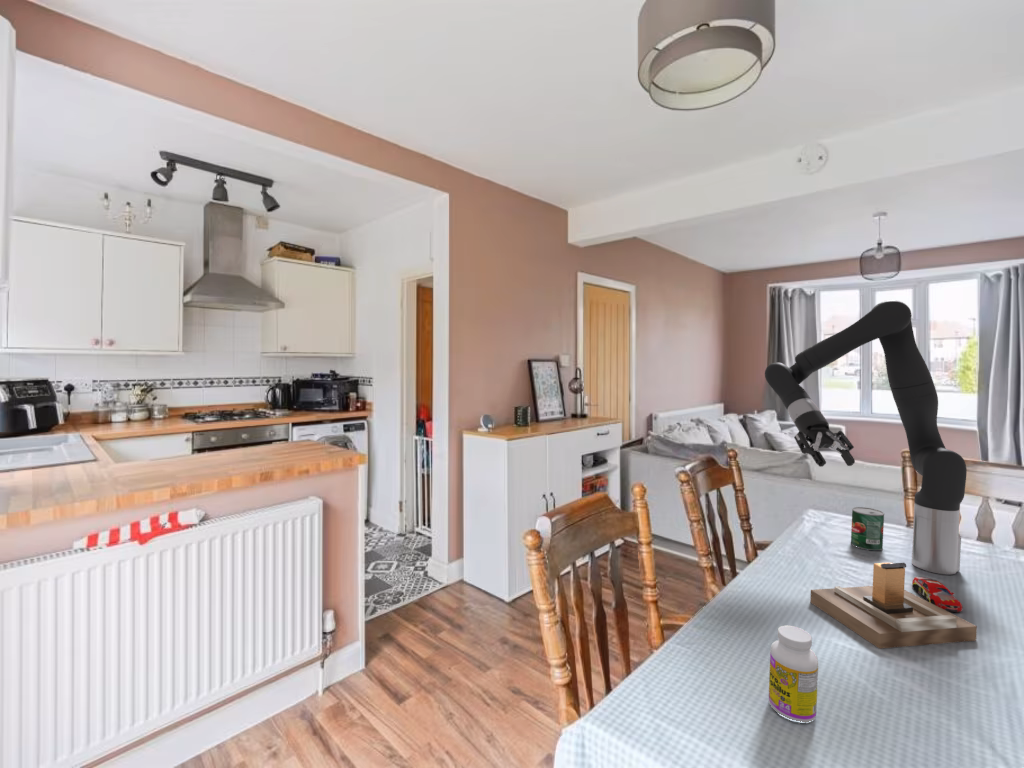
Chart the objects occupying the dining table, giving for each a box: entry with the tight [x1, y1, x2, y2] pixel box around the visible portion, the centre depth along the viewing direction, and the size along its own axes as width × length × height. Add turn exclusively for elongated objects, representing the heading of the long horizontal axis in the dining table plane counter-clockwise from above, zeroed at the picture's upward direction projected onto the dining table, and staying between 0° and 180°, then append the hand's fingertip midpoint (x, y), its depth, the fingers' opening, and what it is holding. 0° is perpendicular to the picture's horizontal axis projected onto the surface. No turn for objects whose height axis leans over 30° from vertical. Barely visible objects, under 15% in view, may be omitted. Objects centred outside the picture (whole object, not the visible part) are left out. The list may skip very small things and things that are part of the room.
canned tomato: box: [850, 506, 885, 551], centre depth 145 cm, size 8×8×11 cm
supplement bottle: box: [768, 624, 819, 722], centre depth 76 cm, size 7×7×13 cm
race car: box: [911, 576, 963, 613], centre depth 112 cm, size 13×5×4 cm, turn 161°
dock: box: [809, 585, 978, 649], centre depth 103 cm, size 22×18×5 cm
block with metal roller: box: [863, 562, 913, 614], centre depth 103 cm, size 6×6×10 cm
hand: (837, 464), depth 127 cm, fingers open, 8 cm apart
